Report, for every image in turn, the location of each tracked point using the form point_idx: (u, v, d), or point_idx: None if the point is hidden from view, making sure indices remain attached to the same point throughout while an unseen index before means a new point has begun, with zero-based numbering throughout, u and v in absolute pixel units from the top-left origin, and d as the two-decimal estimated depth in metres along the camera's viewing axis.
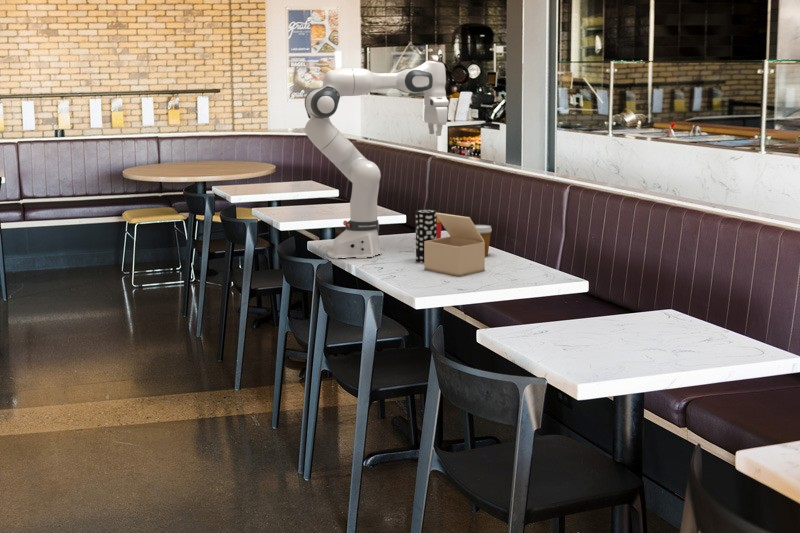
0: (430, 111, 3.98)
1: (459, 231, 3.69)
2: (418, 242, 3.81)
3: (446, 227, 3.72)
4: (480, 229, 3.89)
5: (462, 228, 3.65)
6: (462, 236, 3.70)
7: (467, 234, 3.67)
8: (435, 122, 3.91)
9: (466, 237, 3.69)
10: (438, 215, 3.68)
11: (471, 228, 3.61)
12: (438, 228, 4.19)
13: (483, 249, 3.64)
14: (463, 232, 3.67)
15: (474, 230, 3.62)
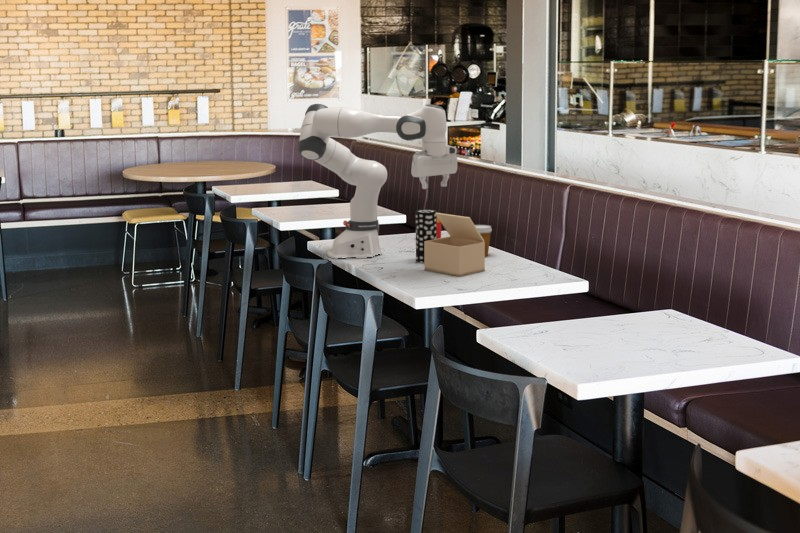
0: (434, 162, 3.52)
1: (459, 231, 3.69)
2: (418, 242, 3.81)
3: (446, 227, 3.72)
4: (480, 229, 3.89)
5: (462, 228, 3.65)
6: (462, 236, 3.70)
7: (467, 234, 3.67)
8: (450, 171, 3.58)
9: (466, 237, 3.69)
10: (438, 215, 3.68)
11: (471, 228, 3.61)
12: (438, 228, 4.19)
13: (483, 249, 3.64)
14: (463, 232, 3.67)
15: (474, 230, 3.62)
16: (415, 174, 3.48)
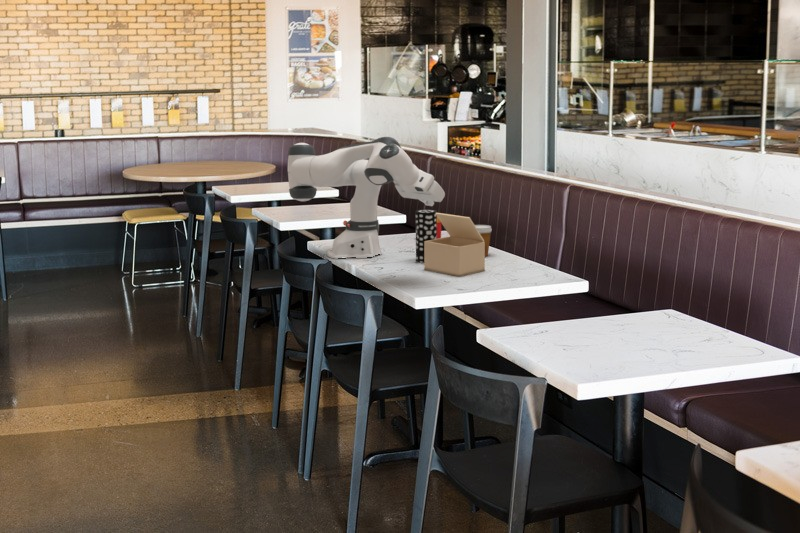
0: None
1: (459, 231, 3.69)
2: (418, 242, 3.81)
3: (446, 227, 3.72)
4: (480, 229, 3.89)
5: (462, 228, 3.65)
6: (462, 236, 3.70)
7: (467, 234, 3.67)
8: (433, 200, 3.45)
9: (466, 237, 3.69)
10: (438, 215, 3.68)
11: (471, 228, 3.61)
12: (438, 228, 4.19)
13: (483, 249, 3.64)
14: (463, 232, 3.67)
15: (474, 230, 3.62)
16: None
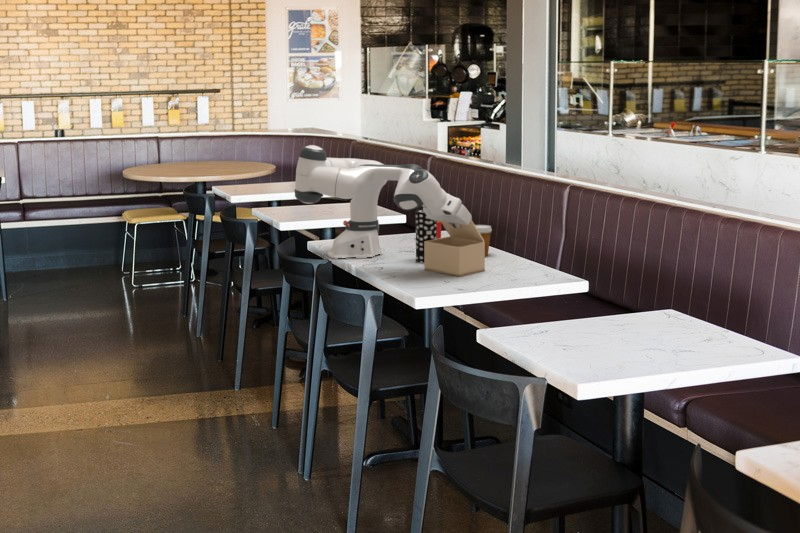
0: None
1: (459, 231, 3.69)
2: (418, 242, 3.81)
3: (446, 227, 3.72)
4: (480, 229, 3.89)
5: (462, 228, 3.65)
6: (462, 236, 3.70)
7: (467, 234, 3.67)
8: (460, 223, 3.57)
9: (466, 237, 3.69)
10: None
11: (471, 228, 3.61)
12: (438, 228, 4.19)
13: (483, 249, 3.64)
14: (463, 232, 3.67)
15: (474, 230, 3.62)
16: None
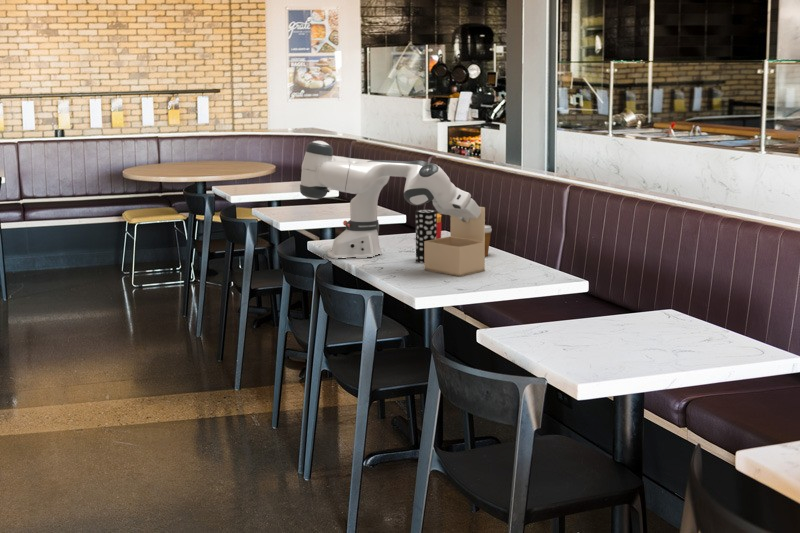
0: None
1: (464, 228, 3.70)
2: (418, 242, 3.81)
3: (452, 223, 3.74)
4: None
5: (469, 223, 3.68)
6: (463, 235, 3.71)
7: (470, 232, 3.68)
8: (469, 217, 3.60)
9: (467, 237, 3.70)
10: None
11: (479, 222, 3.64)
12: (438, 228, 4.19)
13: (483, 249, 3.64)
14: (467, 229, 3.69)
15: (480, 226, 3.64)
16: None
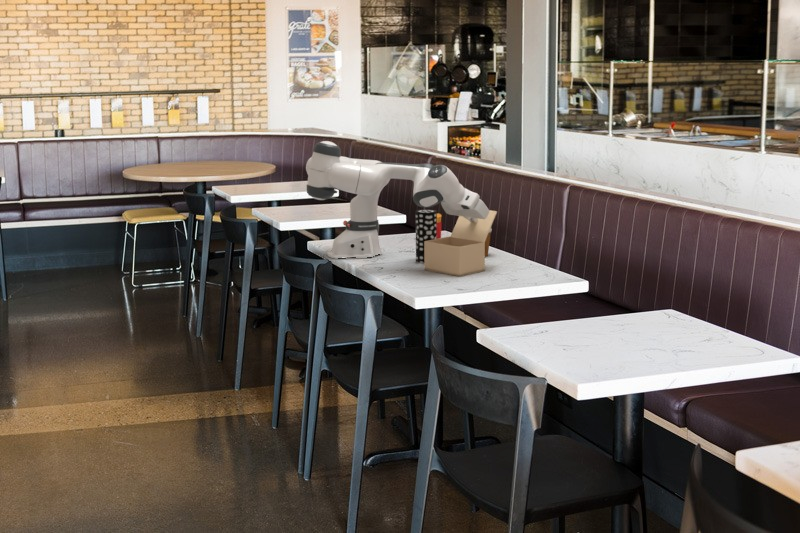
0: None
1: (468, 229, 3.72)
2: (418, 242, 3.81)
3: (457, 224, 3.76)
4: None
5: (475, 224, 3.70)
6: (465, 235, 3.71)
7: (473, 233, 3.69)
8: (477, 217, 3.63)
9: (468, 237, 3.70)
10: None
11: (486, 224, 3.67)
12: (438, 228, 4.19)
13: (483, 249, 3.64)
14: (471, 230, 3.71)
15: (486, 227, 3.67)
16: None
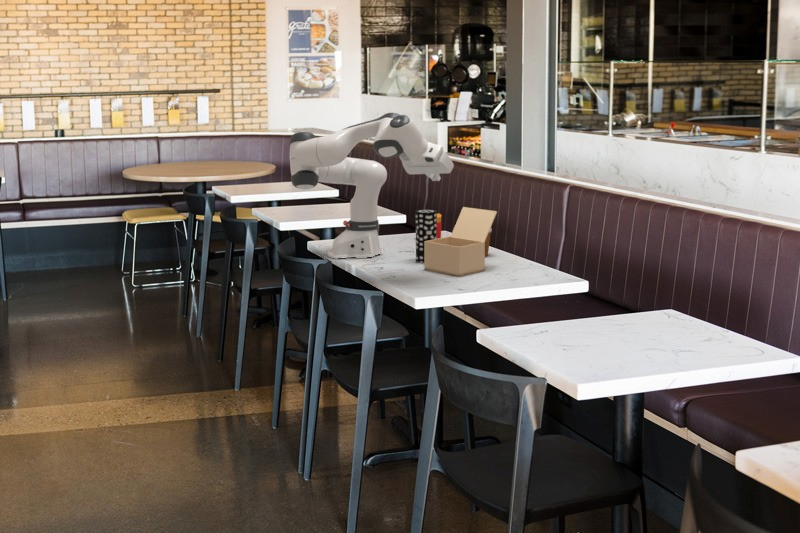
0: None
1: (468, 229, 3.72)
2: (418, 242, 3.81)
3: (457, 224, 3.76)
4: None
5: (475, 224, 3.70)
6: (465, 235, 3.71)
7: (473, 233, 3.69)
8: (441, 172, 3.48)
9: (468, 237, 3.70)
10: (464, 209, 3.78)
11: (486, 224, 3.67)
12: (438, 228, 4.19)
13: (483, 249, 3.64)
14: (471, 230, 3.71)
15: (486, 227, 3.67)
16: None
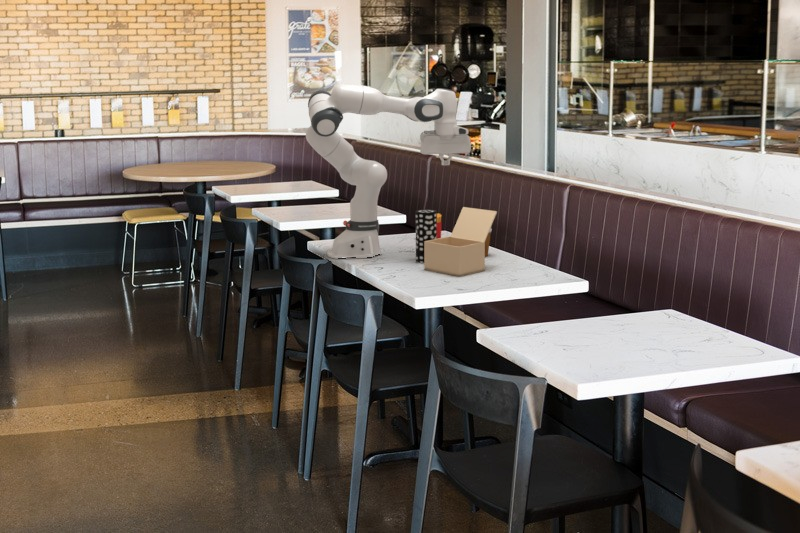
0: (443, 141, 3.82)
1: (468, 229, 3.72)
2: (418, 242, 3.81)
3: (457, 224, 3.76)
4: None
5: (475, 224, 3.70)
6: (465, 235, 3.71)
7: (473, 233, 3.69)
8: (461, 151, 3.85)
9: (468, 237, 3.70)
10: (464, 209, 3.78)
11: (486, 224, 3.67)
12: (438, 228, 4.19)
13: (483, 249, 3.64)
14: (471, 230, 3.71)
15: (486, 227, 3.67)
16: (421, 151, 3.81)
